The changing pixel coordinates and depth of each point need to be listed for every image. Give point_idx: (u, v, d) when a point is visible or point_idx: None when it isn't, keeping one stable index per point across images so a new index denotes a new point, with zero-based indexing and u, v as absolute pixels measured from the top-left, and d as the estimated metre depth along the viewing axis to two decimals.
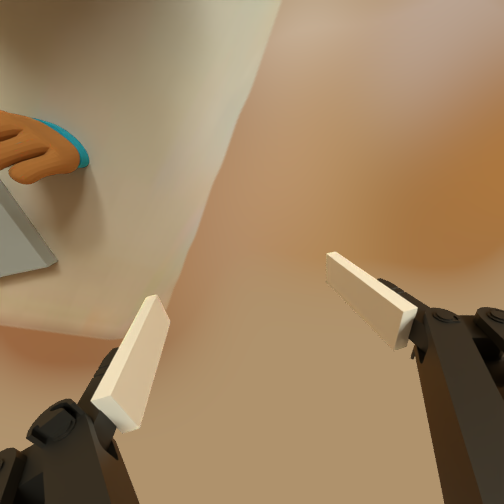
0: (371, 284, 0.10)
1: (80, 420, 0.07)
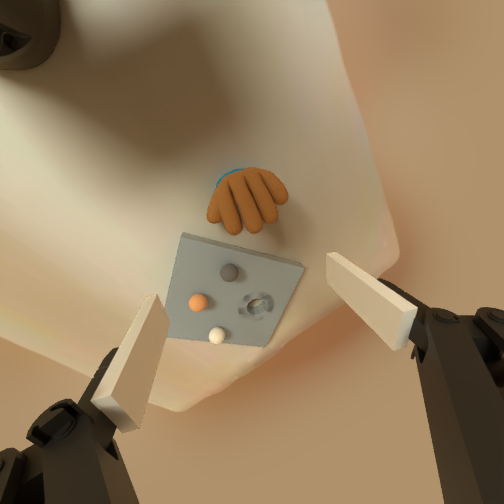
0: (371, 284, 0.10)
1: (80, 420, 0.07)
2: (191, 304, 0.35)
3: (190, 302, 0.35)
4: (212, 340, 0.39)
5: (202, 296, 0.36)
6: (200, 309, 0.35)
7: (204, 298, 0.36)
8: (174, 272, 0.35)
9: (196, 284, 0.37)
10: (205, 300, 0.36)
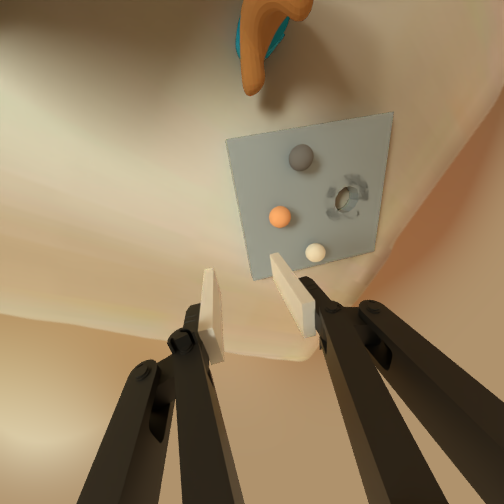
0: (290, 281, 0.12)
1: (195, 346, 0.09)
2: (274, 218, 0.29)
3: (272, 217, 0.29)
4: (313, 257, 0.32)
5: (281, 206, 0.29)
6: (287, 219, 0.29)
7: (285, 207, 0.29)
8: (238, 193, 0.29)
9: (267, 198, 0.30)
10: (287, 209, 0.29)
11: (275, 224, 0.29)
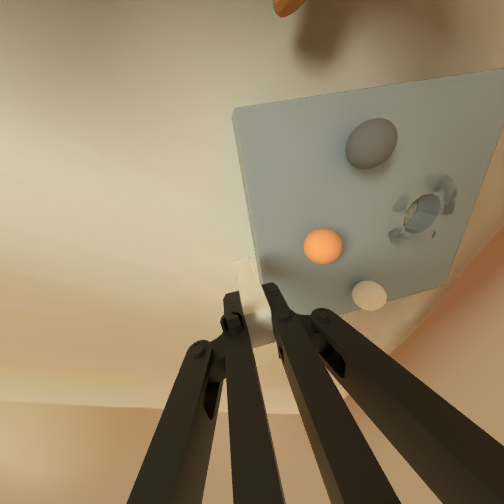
0: (253, 287, 0.12)
1: (244, 329, 0.09)
2: (316, 251, 0.17)
3: (311, 249, 0.17)
4: (369, 305, 0.21)
5: (327, 229, 0.17)
6: (337, 253, 0.17)
7: (332, 231, 0.17)
8: (254, 206, 0.17)
9: (301, 214, 0.18)
10: (336, 233, 0.17)
11: (316, 260, 0.17)
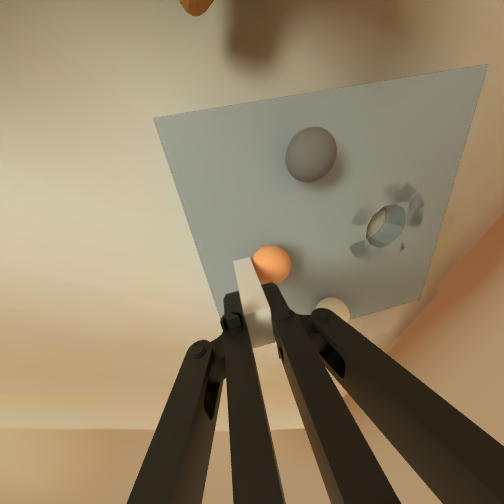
0: (253, 287, 0.12)
1: (244, 329, 0.09)
2: (259, 271, 0.15)
3: (255, 269, 0.15)
4: None
5: (273, 246, 0.16)
6: (283, 274, 0.15)
7: (279, 248, 0.16)
8: (192, 223, 0.15)
9: (248, 229, 0.16)
10: (284, 252, 0.16)
11: (262, 280, 0.16)
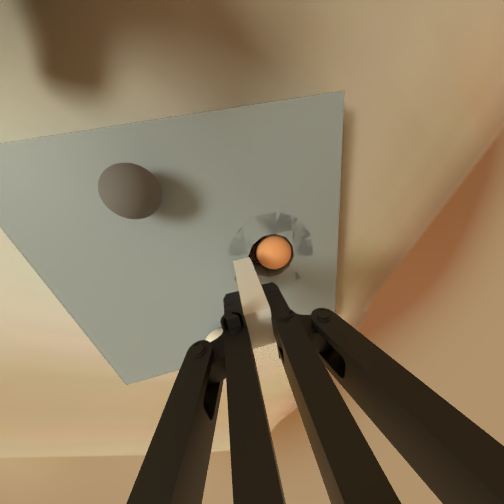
0: (253, 287, 0.12)
1: (244, 329, 0.09)
2: None
3: (283, 237, 0.18)
4: None
5: (259, 242, 0.18)
6: None
7: (258, 245, 0.19)
8: (31, 258, 0.14)
9: (102, 263, 0.15)
10: None
11: None
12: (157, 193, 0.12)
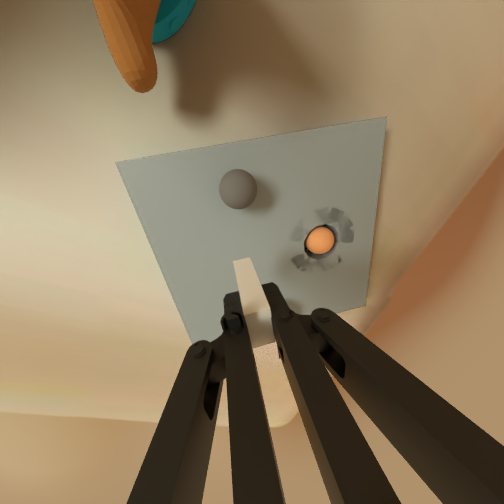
0: (253, 287, 0.12)
1: (244, 330, 0.09)
2: None
3: (328, 229, 0.23)
4: None
5: None
6: None
7: None
8: (151, 239, 0.19)
9: (198, 244, 0.20)
10: None
11: None
12: (256, 190, 0.17)
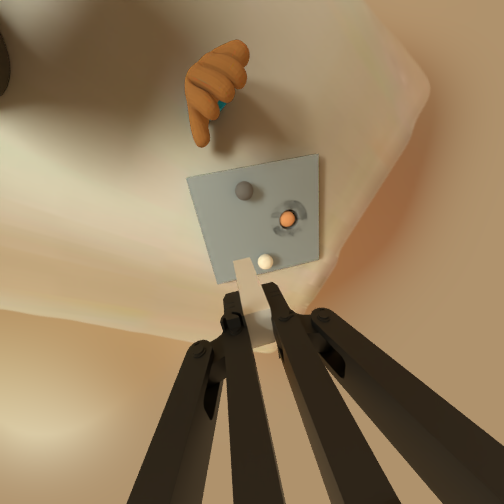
0: (253, 287, 0.12)
1: (244, 330, 0.09)
2: (292, 213, 0.41)
3: (291, 212, 0.41)
4: (262, 265, 0.41)
5: None
6: None
7: None
8: (199, 216, 0.37)
9: (222, 219, 0.38)
10: None
11: (294, 217, 0.41)
12: None
